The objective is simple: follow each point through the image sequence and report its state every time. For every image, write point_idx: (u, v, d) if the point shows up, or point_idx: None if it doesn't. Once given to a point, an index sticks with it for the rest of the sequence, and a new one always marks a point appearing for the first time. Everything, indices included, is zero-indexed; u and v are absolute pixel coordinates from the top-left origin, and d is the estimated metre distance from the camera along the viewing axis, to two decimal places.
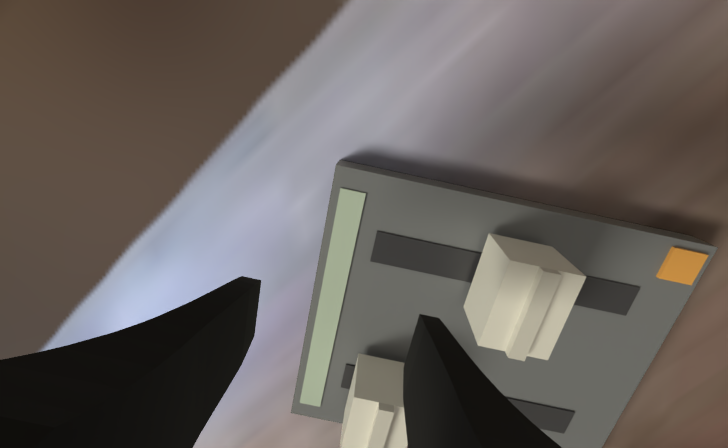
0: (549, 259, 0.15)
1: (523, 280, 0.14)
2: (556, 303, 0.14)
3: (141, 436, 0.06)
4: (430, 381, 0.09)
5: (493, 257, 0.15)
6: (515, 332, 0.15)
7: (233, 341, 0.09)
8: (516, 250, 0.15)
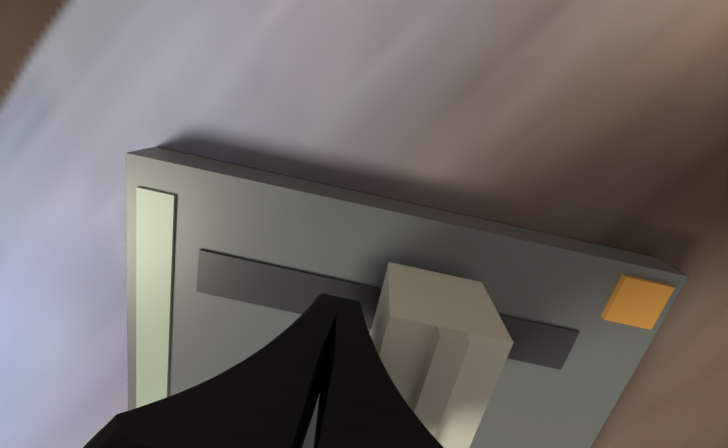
0: (464, 308, 0.10)
1: (414, 346, 0.09)
2: (469, 381, 0.09)
3: None
4: (330, 360, 0.09)
5: (384, 302, 0.10)
6: None
7: (325, 360, 0.09)
8: (415, 293, 0.10)
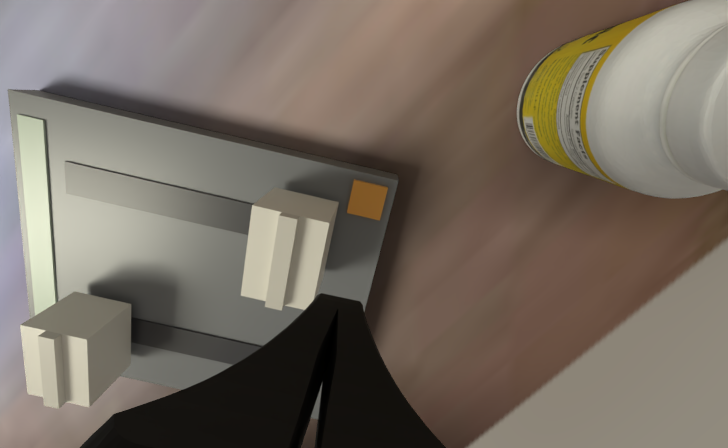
0: (310, 209, 0.15)
1: (269, 226, 0.14)
2: (306, 251, 0.14)
3: None
4: (331, 360, 0.09)
5: None
6: (269, 281, 0.15)
7: (324, 360, 0.09)
8: (280, 200, 0.15)
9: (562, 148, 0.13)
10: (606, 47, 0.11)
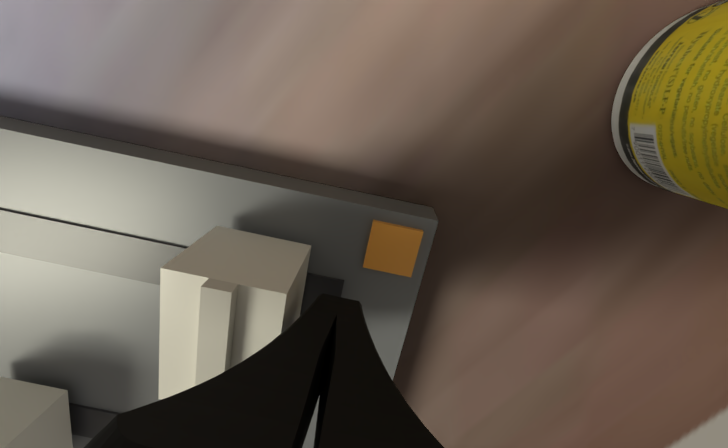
0: (261, 265, 0.10)
1: (192, 300, 0.09)
2: (253, 336, 0.09)
3: None
4: (330, 360, 0.09)
5: None
6: (199, 381, 0.09)
7: (325, 360, 0.09)
8: (216, 251, 0.10)
9: None
10: None
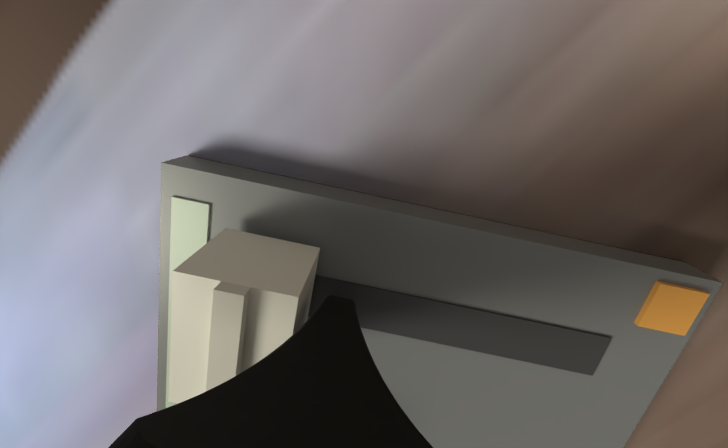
0: (271, 268, 0.10)
1: (203, 303, 0.09)
2: (264, 339, 0.09)
3: None
4: None
5: None
6: (209, 383, 0.09)
7: None
8: (226, 254, 0.10)
9: None
10: None
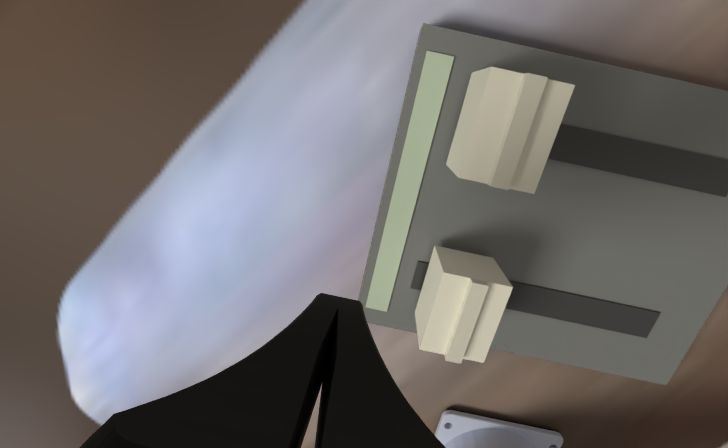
0: None
1: (506, 92, 0.13)
2: (542, 121, 0.13)
3: None
4: (331, 360, 0.09)
5: (475, 86, 0.14)
6: (497, 157, 0.13)
7: (324, 360, 0.09)
8: None
9: None
10: None
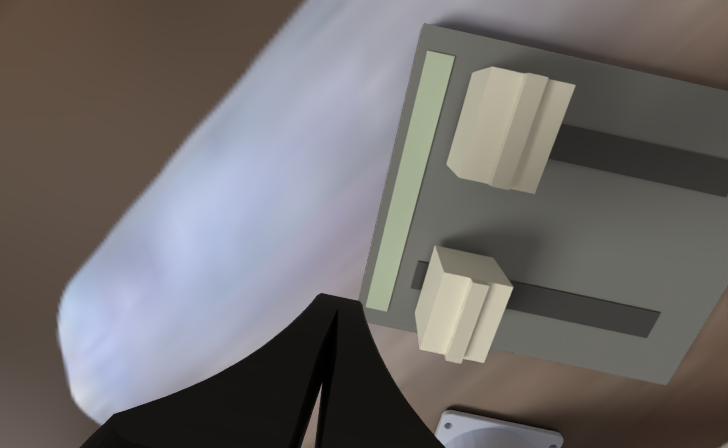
0: None
1: (506, 92, 0.13)
2: (543, 121, 0.13)
3: None
4: (331, 360, 0.09)
5: (476, 86, 0.14)
6: (498, 157, 0.13)
7: (324, 360, 0.09)
8: None
9: None
10: None
